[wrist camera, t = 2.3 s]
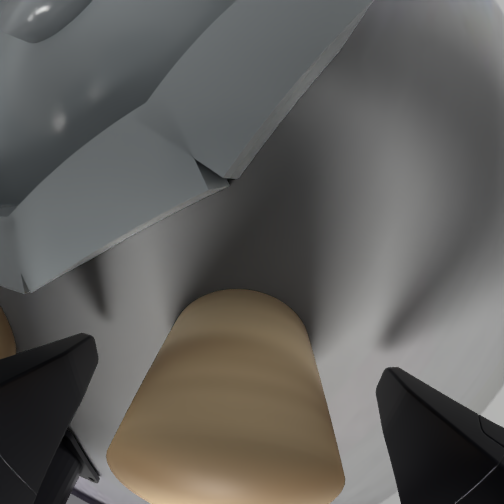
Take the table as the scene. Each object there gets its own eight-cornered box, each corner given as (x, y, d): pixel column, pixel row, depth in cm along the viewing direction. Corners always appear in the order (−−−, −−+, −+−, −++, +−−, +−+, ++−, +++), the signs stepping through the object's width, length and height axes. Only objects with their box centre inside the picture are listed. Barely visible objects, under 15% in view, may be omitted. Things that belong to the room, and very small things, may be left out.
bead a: (295, 404, 9) (309, 525, 4) (174, 391, 9) (133, 505, 4) (322, 296, 8) (385, 432, 3) (169, 280, 8) (76, 397, 3)
